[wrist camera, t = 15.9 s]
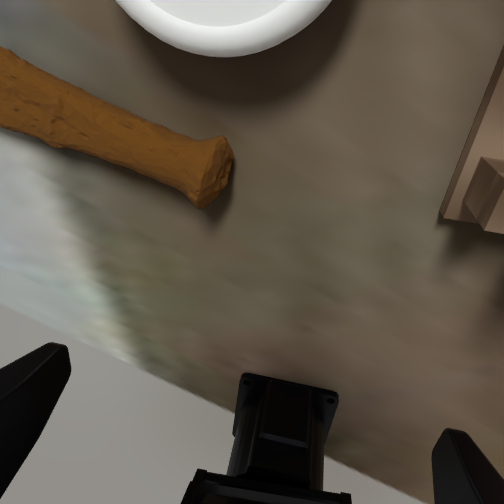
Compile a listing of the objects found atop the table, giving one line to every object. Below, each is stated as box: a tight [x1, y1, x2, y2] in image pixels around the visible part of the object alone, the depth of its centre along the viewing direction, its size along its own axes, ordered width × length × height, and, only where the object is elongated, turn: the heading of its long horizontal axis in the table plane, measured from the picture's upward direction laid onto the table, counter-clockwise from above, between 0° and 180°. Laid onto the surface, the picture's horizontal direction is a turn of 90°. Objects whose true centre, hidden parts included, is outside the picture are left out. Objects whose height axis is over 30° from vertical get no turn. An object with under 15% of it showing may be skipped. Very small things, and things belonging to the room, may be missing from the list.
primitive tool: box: [0, 47, 233, 209], centre depth 19 cm, size 19×6×4 cm, turn 75°
